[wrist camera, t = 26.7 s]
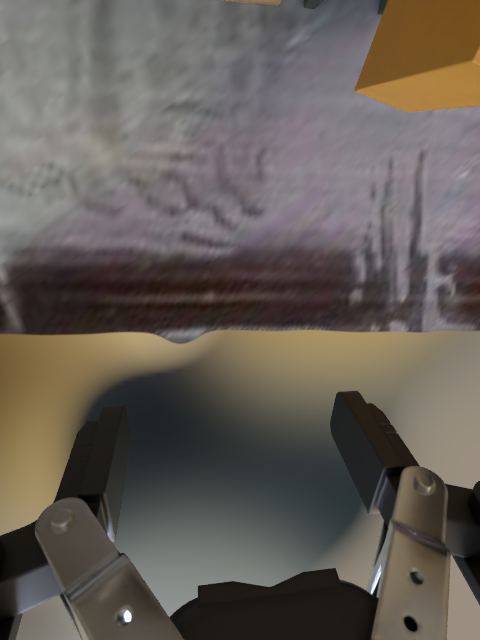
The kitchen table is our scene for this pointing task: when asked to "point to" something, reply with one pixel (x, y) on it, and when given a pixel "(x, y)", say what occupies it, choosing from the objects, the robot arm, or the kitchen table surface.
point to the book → (425, 56)
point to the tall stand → (258, 1)
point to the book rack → (314, 0)
